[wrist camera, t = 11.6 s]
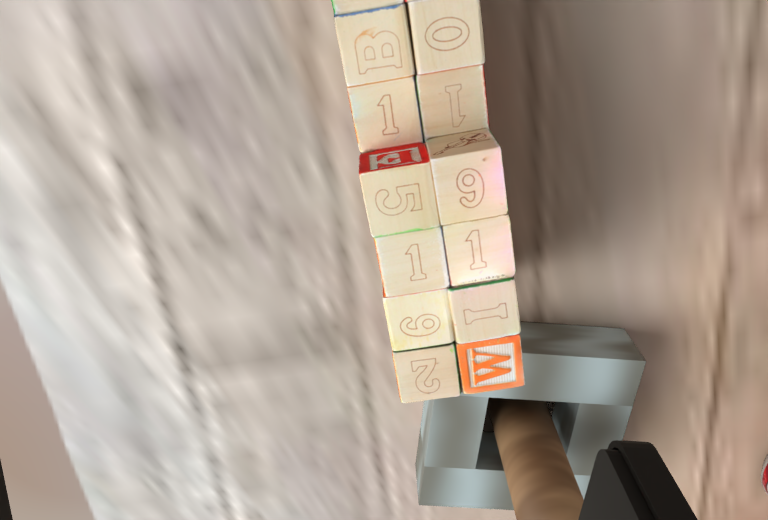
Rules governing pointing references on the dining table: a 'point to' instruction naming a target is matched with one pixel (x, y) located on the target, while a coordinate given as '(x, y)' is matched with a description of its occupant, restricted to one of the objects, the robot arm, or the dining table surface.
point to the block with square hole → (543, 383)
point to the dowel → (534, 461)
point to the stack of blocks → (433, 193)
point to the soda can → (765, 475)
